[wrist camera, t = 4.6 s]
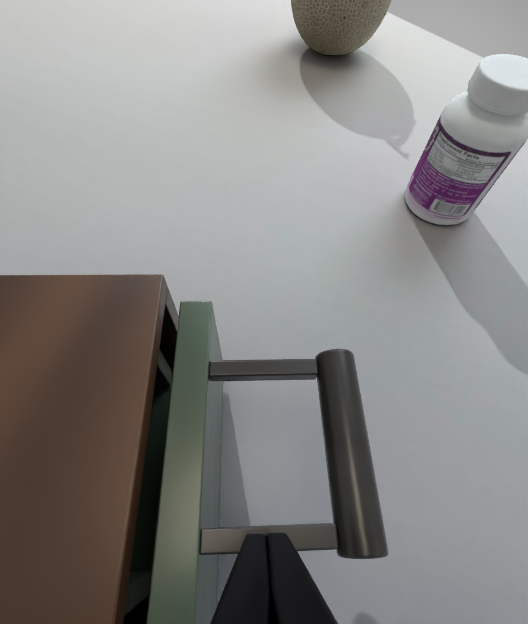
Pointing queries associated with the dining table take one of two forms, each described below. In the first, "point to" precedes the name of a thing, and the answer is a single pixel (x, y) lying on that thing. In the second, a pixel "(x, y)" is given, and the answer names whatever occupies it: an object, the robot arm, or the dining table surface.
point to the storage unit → (75, 439)
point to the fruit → (338, 23)
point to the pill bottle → (472, 142)
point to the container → (207, 467)
